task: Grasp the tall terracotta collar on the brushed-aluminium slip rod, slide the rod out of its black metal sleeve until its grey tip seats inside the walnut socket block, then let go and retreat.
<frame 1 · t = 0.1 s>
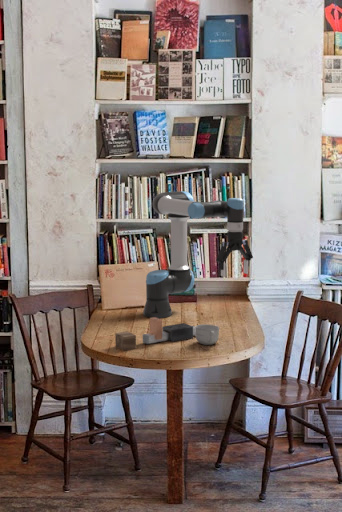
hand: (234, 274, 355), 28 cm above the table, fingers open, 13 cm apart
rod: (170, 327, 345), point 6 cm above the table, slide at 0.0 cm
teacup: (207, 344, 338), on the table
sleeve: (177, 338, 348), on the table
socket: (125, 347, 333), on the table
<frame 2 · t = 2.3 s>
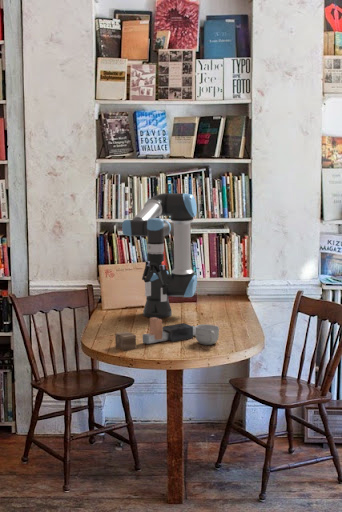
hand: (155, 298, 338), 20 cm above the table, fingers open, 13 cm apart
nothing on the table moved.
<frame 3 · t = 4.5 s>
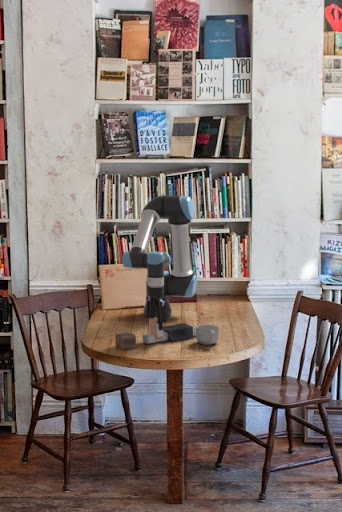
hand: (155, 334, 341), 3 cm above the table, fingers closed on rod, 6 cm apart
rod: (170, 327, 345), point 6 cm above the table, slide at 0.0 cm, touching gripper
everything else where it was.
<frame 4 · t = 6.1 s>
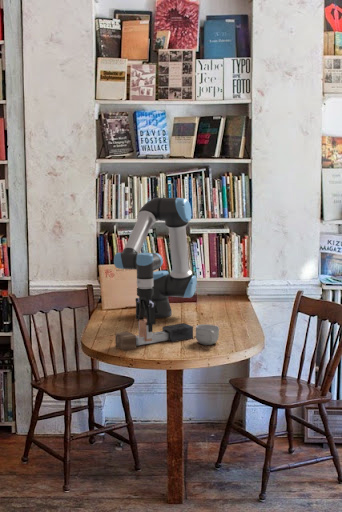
hand: (145, 336, 338), 3 cm above the table, fingers closed on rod, 6 cm apart
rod: (160, 329, 342), point 6 cm above the table, slide at 5.5 cm, touching gripper
everything else where it was.
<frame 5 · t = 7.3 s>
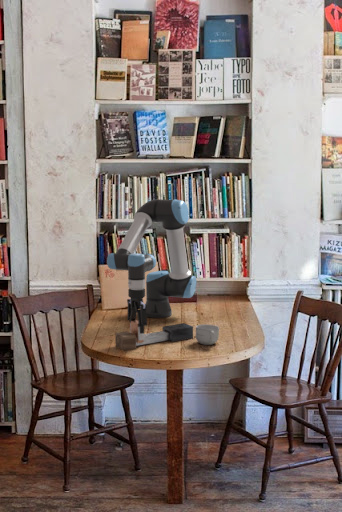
hand: (137, 338, 336), 3 cm above the table, fingers closed on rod, 6 cm apart
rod: (152, 330, 340), point 6 cm above the table, slide at 10.0 cm, touching gripper
everything else where it was.
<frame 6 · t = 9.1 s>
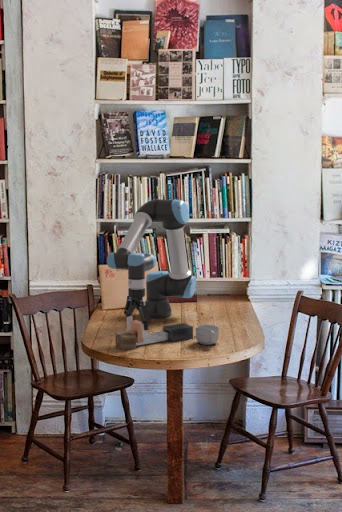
hand: (137, 333, 335), 5 cm above the table, fingers open, 13 cm apart
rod: (152, 330, 340), point 6 cm above the table, slide at 10.0 cm
everything else where it was.
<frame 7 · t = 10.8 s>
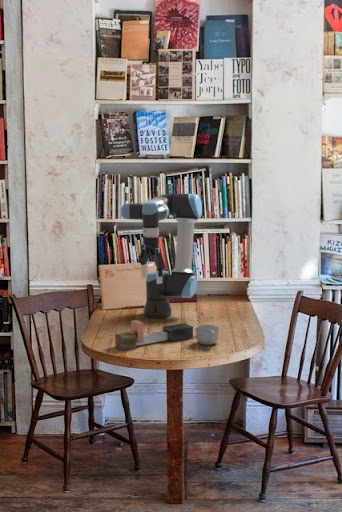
hand: (151, 280, 347), 27 cm above the table, fingers open, 13 cm apart
nothing on the table moved.
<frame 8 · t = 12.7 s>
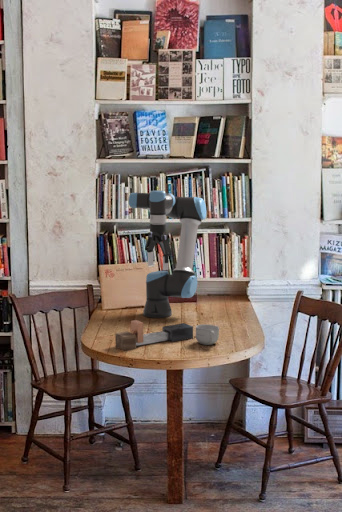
hand: (158, 267, 353), 32 cm above the table, fingers open, 13 cm apart
nothing on the table moved.
at the end: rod slide at 10.0 cm; the gripper is holding nothing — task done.
